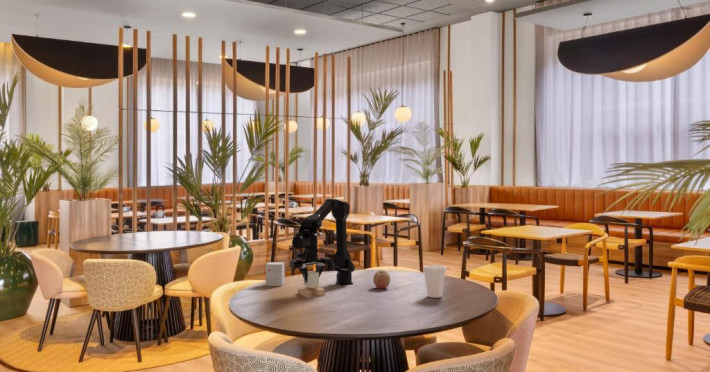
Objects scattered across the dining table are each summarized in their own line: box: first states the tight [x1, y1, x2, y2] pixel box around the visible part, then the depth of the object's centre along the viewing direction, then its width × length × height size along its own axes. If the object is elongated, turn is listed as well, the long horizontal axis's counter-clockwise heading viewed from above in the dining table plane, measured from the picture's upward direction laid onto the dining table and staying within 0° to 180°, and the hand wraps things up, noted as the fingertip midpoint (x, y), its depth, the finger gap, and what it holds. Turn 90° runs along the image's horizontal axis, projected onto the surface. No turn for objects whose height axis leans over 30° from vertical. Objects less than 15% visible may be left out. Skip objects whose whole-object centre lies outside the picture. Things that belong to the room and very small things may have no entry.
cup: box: [422, 264, 447, 299], centre depth 253 cm, size 10×10×13 cm
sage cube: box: [303, 270, 320, 287], centre depth 258 cm, size 5×5×6 cm
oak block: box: [297, 286, 326, 299], centre depth 258 cm, size 9×9×3 cm
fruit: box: [372, 270, 391, 290], centre depth 271 cm, size 8×8×8 cm
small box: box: [265, 261, 285, 287], centre depth 280 cm, size 8×6×10 cm
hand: (311, 282), depth 258 cm, fingers closed on sage cube, 5 cm apart
